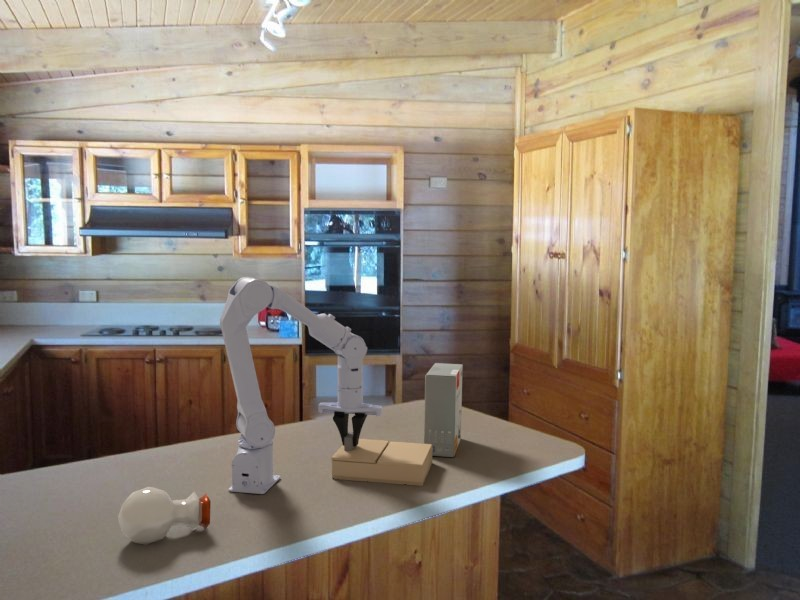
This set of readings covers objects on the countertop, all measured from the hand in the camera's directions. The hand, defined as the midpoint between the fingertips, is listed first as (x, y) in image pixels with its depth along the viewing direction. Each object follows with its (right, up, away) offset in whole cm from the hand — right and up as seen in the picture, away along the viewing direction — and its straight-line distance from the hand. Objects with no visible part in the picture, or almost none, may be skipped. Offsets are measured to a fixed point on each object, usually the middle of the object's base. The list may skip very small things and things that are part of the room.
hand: (350, 444), depth 150 cm
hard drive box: (+22, -4, +16) cm, 27 cm away
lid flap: (+2, -1, 0) cm, 3 cm away
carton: (+8, -6, -1) cm, 10 cm away
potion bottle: (-30, -9, -33) cm, 46 cm away
